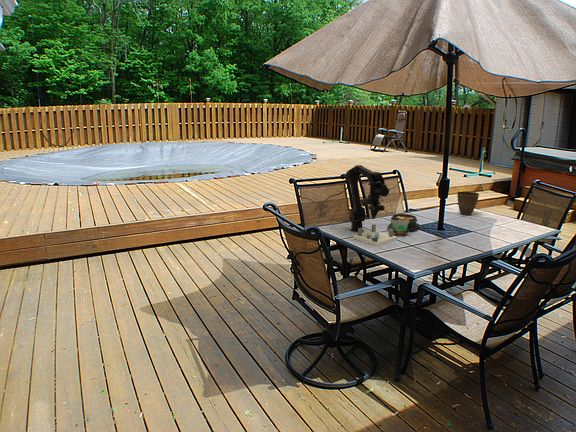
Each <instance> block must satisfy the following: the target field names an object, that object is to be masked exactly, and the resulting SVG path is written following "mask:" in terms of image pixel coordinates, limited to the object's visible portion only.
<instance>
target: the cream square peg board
mask: <svg viewBox="0 0 576 432" xmlns="http://www.w3.org/2000/svg"><path fill="white" fill-rule="evenodd" d="M362 229H363V227H362V228H358V232H357V234H354V235H353V237H352V239H354V240H356V239H357V241H360V242H363V243H367V244H369V243H370V244H371V245H373V246H377V247H378V246H382V245H384V244H388V243H391V242H394V241H397V240H398V236H394V235H393V229H389V228H388V233H386V232H385V233H384V232H382V231H378V230H377V224H376V223H375V224H374V223H373V224H371V230H368V231H365V232H363V231H362ZM375 232H379V239H377V238H372V239H368V238H367V235H371V237H375Z"/></svg>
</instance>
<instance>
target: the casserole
mask: <svg viewBox="0 0 576 432" xmlns="http://www.w3.org/2000/svg"><path fill="white" fill-rule="evenodd" d="M407 218H408V219H409V223H408V227H407V232H408V231H413V230H416V229H419V227H420V226H421V224H420V223H418V219H417V216H415V215H413V214H408V213H397V214H392V216H391V218H390V220H391V219H392V220H399V219H401V220H406V219H407ZM387 229H388V230H389V229H391V222H390V223H389V224H388V225H387Z"/></svg>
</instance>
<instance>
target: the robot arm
mask: <svg viewBox="0 0 576 432" xmlns="http://www.w3.org/2000/svg"><path fill="white" fill-rule="evenodd" d="M361 175H362V176H363V177H366V179H367V181H368V182H369V183H368V185H369V194H367V197H365V198H362V199H361V194H360V190H359V181H360V176H361ZM345 179H346V182H348V184H349V186H350V192H351V199H352V205H353V207H352V210H351V214H350V216H349V218H348V219H349V221H350V222H351V226H350V227H351V228H350V229H349V230H350V231H353V232H356V233H358V228H362V232H363V231H364V228H363V222H365V220H366V217H367V212H366V206H367V208H368V210H369V211H370V215H371V219H372V220H375V218H376V216H378V215H377V214H378V213H379V212H380V211H383V212H384V211H385V206H384V205H382V203H381V202H380V198H381V197H387V196H388V195H389V193H390V189H389V188H388V187H387V184H386V183H385V180H384V176H383V174H382V173H381V172H379V171H373V170H370V169H369V168H367V167H365V166H364V165H362V164H361V165H360V164H359V165H355V166H353V167H352V168H350V169H348V170H347V171H346V173H345Z"/></svg>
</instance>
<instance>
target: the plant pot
mask: <svg viewBox="0 0 576 432" xmlns="http://www.w3.org/2000/svg"><path fill="white" fill-rule="evenodd" d="M456 193H457V194H456V195H457V197H456V198H457V205H458V206H457V207H458V211H459V213H460V215H462V216H468V217H469V216H472V214H473V213H474V210H475V208H476V206H477V204H478V200H479V196H480V194H479V192H473V191H458V192H456Z"/></svg>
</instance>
